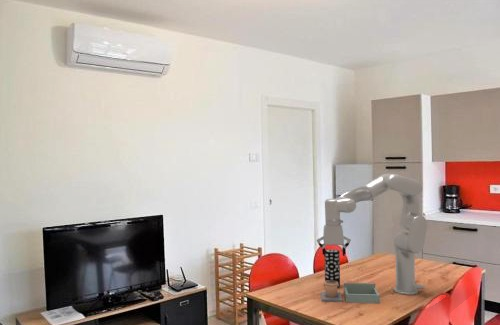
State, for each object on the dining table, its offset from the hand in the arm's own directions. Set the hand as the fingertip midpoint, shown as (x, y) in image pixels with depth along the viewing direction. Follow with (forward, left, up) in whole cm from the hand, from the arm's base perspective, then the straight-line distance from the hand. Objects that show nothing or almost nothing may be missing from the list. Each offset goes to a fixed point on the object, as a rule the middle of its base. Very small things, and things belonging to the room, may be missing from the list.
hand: (334, 255), depth 212 cm
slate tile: (+2, +1, -21) cm, 21 cm away
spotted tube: (0, -18, -22) cm, 28 cm away
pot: (+2, +1, -20) cm, 20 cm away
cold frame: (-13, +1, -21) cm, 25 cm away
